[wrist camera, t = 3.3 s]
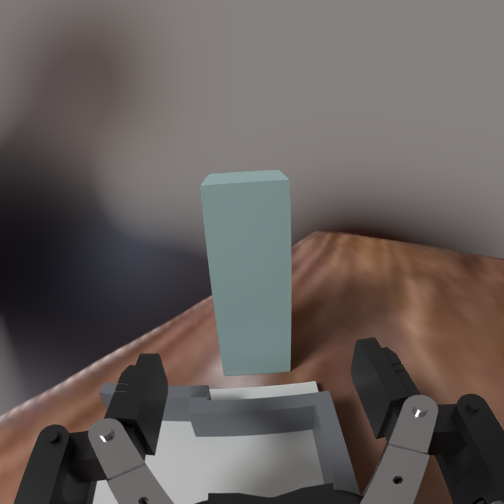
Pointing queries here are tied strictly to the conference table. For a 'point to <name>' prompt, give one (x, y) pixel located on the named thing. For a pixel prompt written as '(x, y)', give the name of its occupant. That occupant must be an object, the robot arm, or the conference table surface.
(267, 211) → the teal post
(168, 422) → the keyhole guide
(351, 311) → the conference table surface
